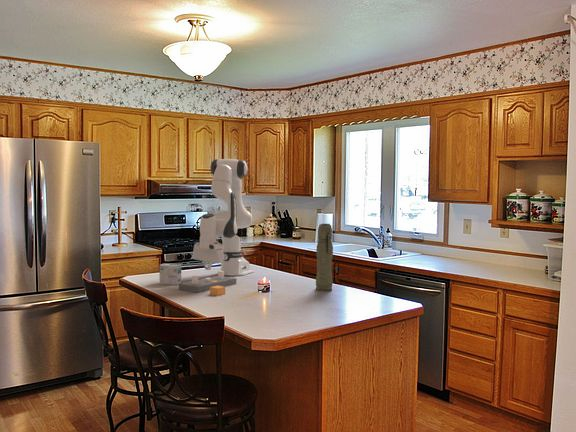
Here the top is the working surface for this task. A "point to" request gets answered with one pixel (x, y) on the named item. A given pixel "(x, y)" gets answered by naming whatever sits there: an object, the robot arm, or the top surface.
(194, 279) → the outer breaker
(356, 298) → the top surface
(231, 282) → the breaker panel
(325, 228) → the thermos
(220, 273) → the inner breaker
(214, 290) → the lockout cap
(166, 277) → the light bulb box
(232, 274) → the robot arm
